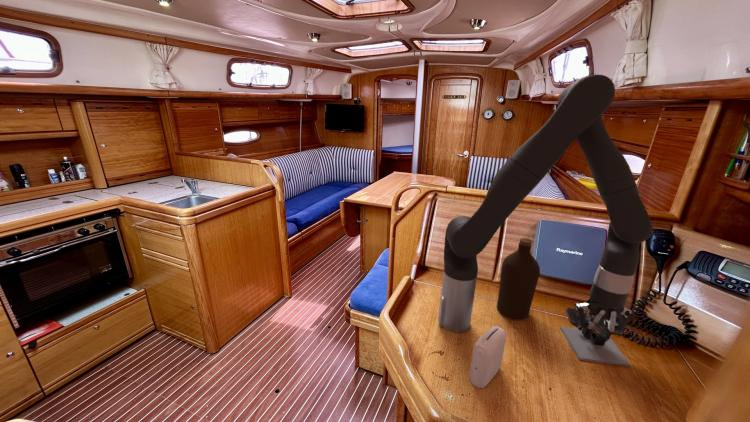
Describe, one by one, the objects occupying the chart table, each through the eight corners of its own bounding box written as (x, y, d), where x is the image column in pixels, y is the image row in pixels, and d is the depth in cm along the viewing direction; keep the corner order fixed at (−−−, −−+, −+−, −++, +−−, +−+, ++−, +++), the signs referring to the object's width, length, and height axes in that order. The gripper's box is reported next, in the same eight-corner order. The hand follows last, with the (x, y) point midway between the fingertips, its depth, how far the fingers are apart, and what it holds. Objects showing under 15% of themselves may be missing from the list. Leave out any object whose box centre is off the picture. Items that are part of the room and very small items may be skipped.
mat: (578, 359, 79) (579, 357, 78) (560, 328, 90) (560, 326, 90) (630, 366, 77) (630, 364, 76) (604, 333, 88) (605, 331, 88)
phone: (565, 307, 98) (620, 317, 93) (564, 310, 98) (619, 320, 94) (571, 322, 91) (631, 334, 86) (570, 325, 91) (630, 337, 87)
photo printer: (482, 392, 69) (490, 350, 65) (466, 380, 72) (472, 339, 68) (502, 367, 76) (510, 327, 72) (486, 357, 79) (493, 318, 75)
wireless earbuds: (592, 328, 87) (594, 319, 86) (605, 347, 80) (608, 337, 79) (574, 326, 88) (577, 317, 87) (585, 344, 81) (588, 335, 80)
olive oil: (520, 326, 90) (536, 251, 82) (488, 309, 98) (499, 238, 90) (536, 312, 96) (552, 241, 88) (505, 296, 104) (517, 230, 96)
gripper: (633, 279, 79) (615, 332, 85) (574, 273, 81) (560, 325, 87) (653, 296, 72) (631, 352, 78) (588, 289, 74) (572, 345, 80)
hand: (594, 338), depth 82 cm, fingers closed on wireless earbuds, 3 cm apart
